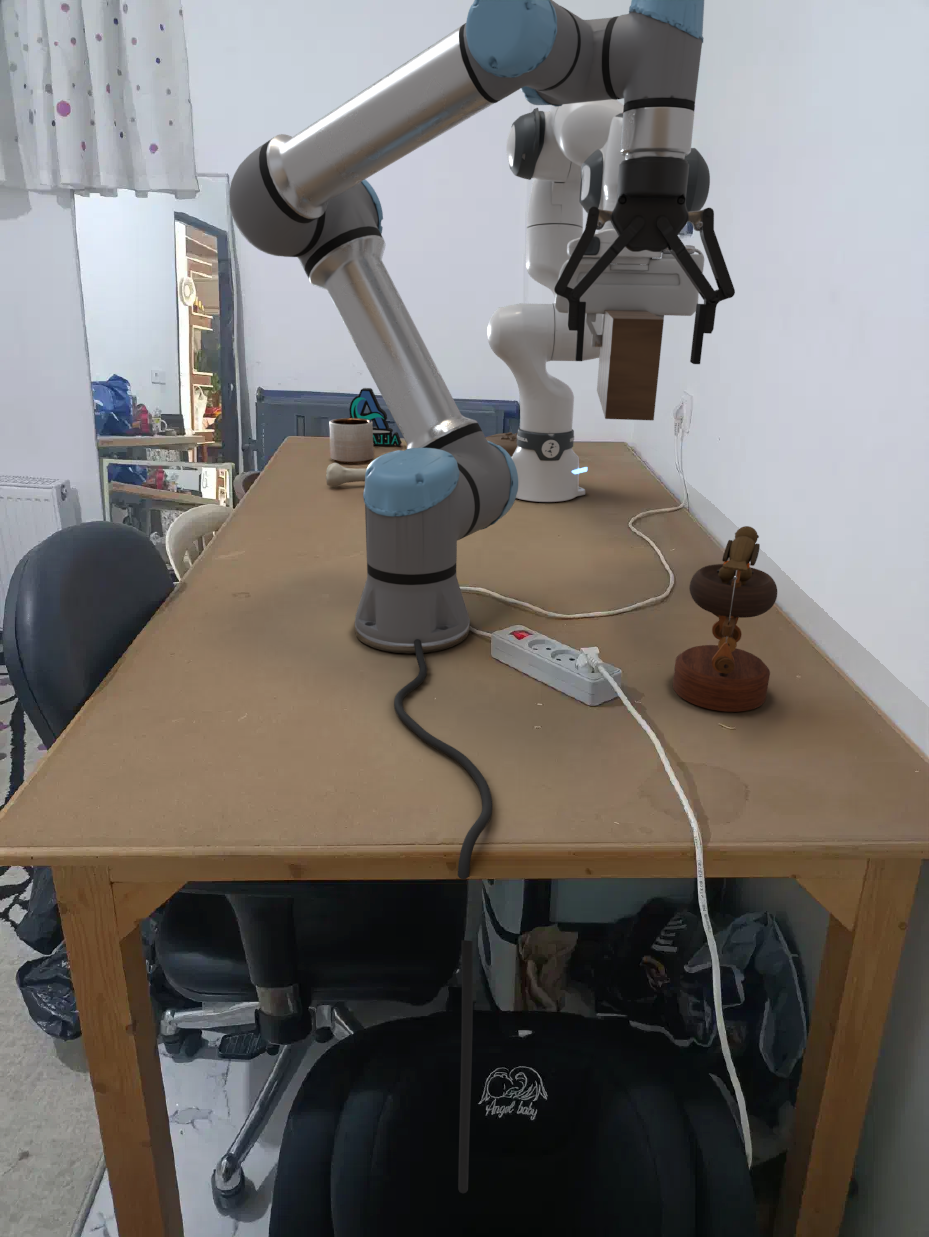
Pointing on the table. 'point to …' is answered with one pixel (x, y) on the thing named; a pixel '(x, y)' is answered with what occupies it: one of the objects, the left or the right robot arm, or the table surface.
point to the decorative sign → (374, 418)
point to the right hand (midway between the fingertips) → (621, 347)
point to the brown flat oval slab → (505, 441)
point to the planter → (351, 440)
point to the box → (629, 364)
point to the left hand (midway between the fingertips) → (636, 362)
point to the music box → (728, 631)
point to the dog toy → (343, 475)
